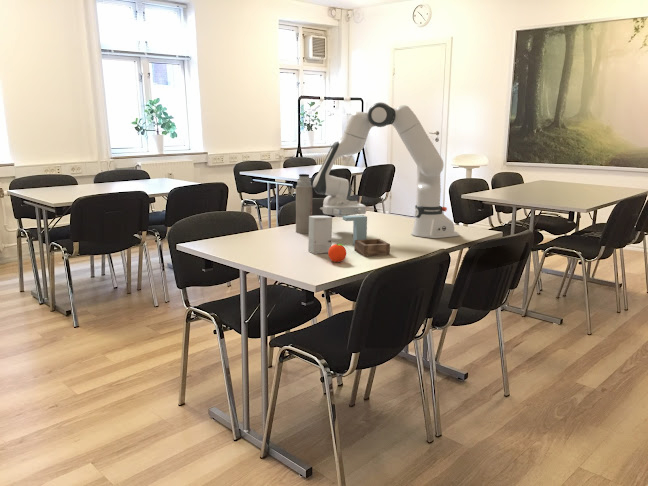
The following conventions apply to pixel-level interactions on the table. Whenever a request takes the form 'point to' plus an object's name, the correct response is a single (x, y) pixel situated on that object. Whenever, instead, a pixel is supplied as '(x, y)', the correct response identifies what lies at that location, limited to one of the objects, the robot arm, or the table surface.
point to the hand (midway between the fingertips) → (349, 212)
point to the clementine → (337, 252)
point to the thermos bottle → (303, 203)
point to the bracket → (358, 226)
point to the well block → (372, 247)
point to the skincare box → (320, 234)
